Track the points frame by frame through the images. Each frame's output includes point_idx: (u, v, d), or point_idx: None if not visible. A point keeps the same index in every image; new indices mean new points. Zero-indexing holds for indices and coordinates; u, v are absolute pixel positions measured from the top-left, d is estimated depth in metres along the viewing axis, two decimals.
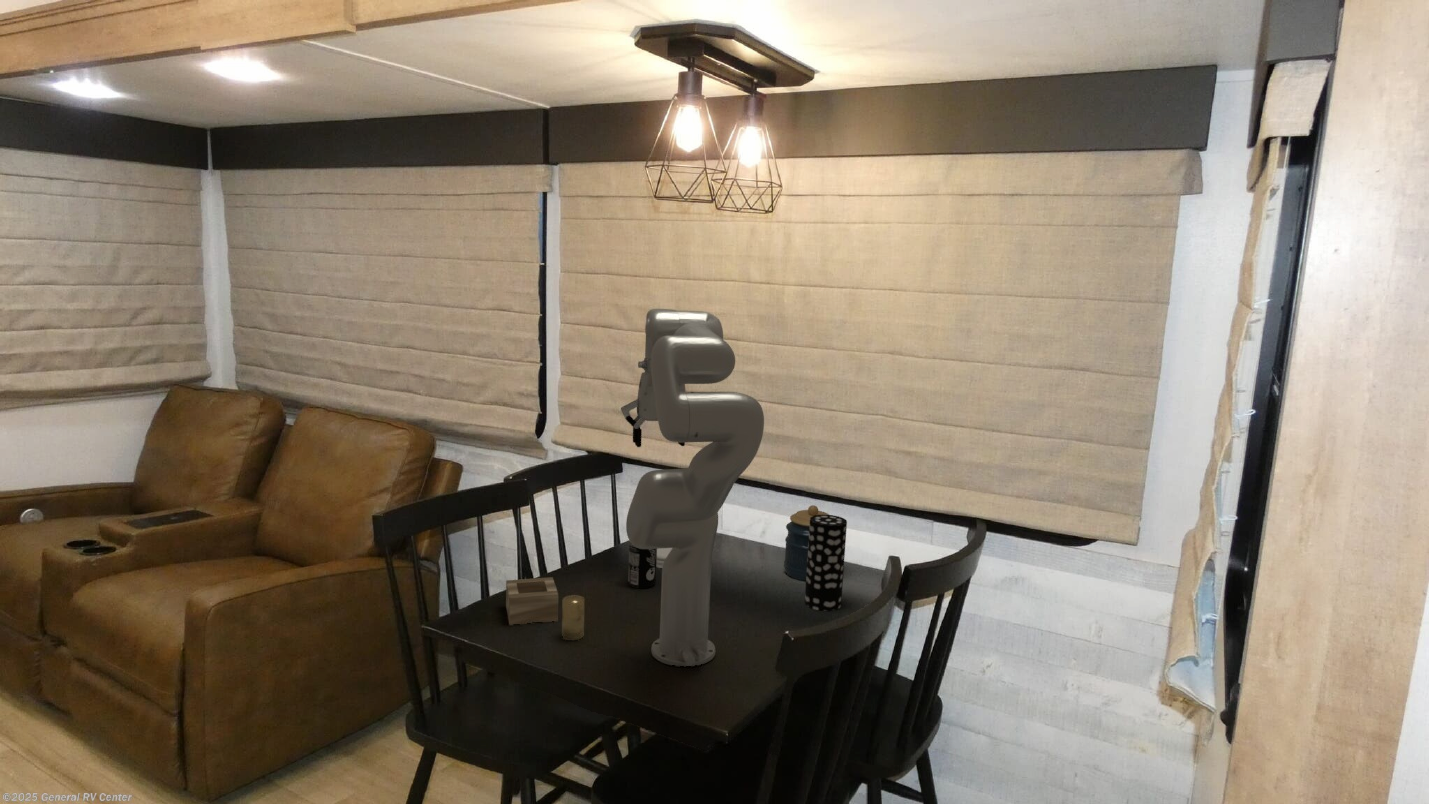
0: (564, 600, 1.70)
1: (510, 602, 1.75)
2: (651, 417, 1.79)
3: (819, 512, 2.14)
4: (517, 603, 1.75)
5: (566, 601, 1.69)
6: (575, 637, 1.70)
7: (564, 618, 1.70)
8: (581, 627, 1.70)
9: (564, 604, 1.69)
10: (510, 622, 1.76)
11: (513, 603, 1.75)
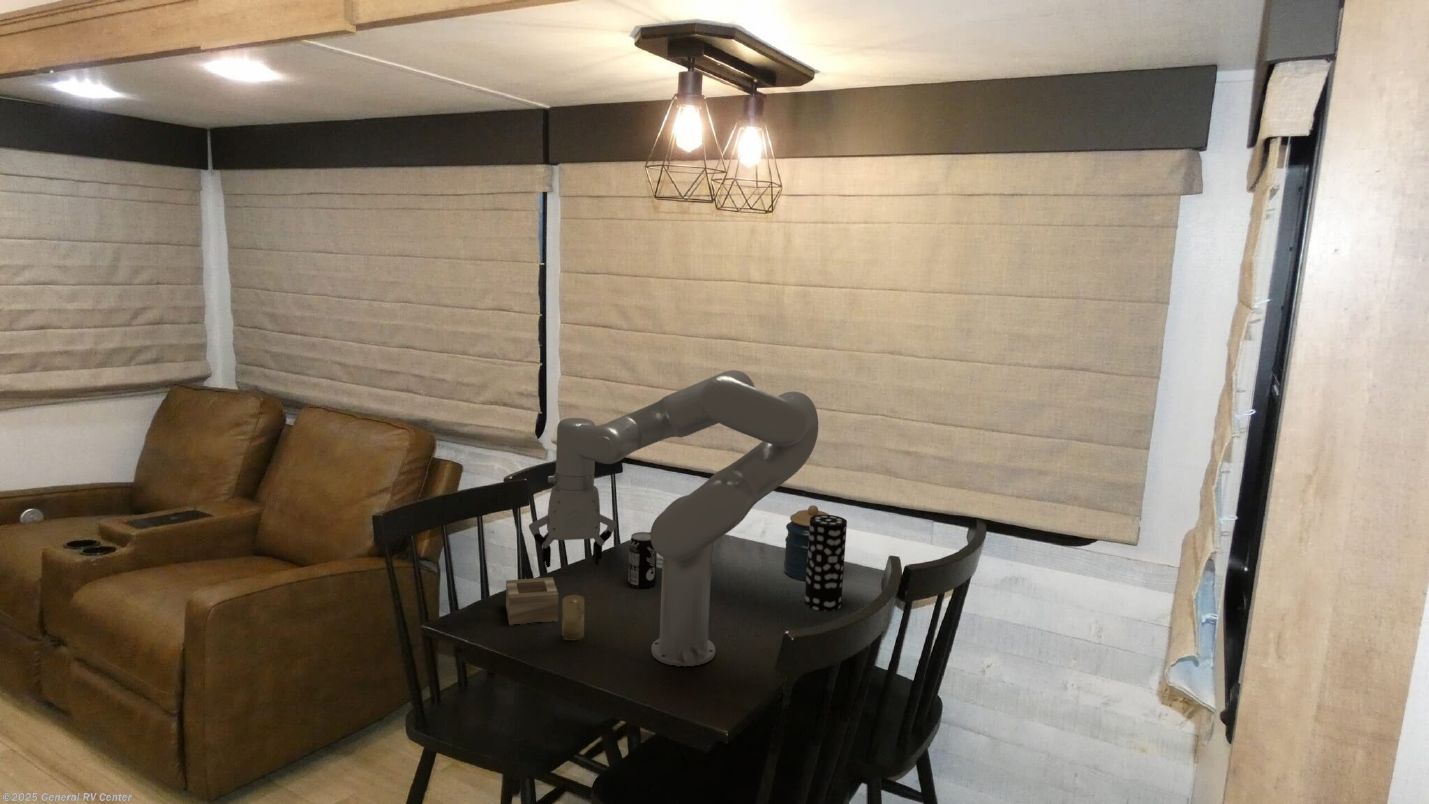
0: (564, 600, 1.70)
1: (510, 602, 1.75)
2: (560, 536, 1.65)
3: (819, 511, 2.14)
4: (517, 603, 1.75)
5: (566, 601, 1.69)
6: (575, 637, 1.70)
7: (564, 618, 1.70)
8: (581, 627, 1.70)
9: (564, 604, 1.69)
10: (510, 622, 1.76)
11: (513, 603, 1.75)
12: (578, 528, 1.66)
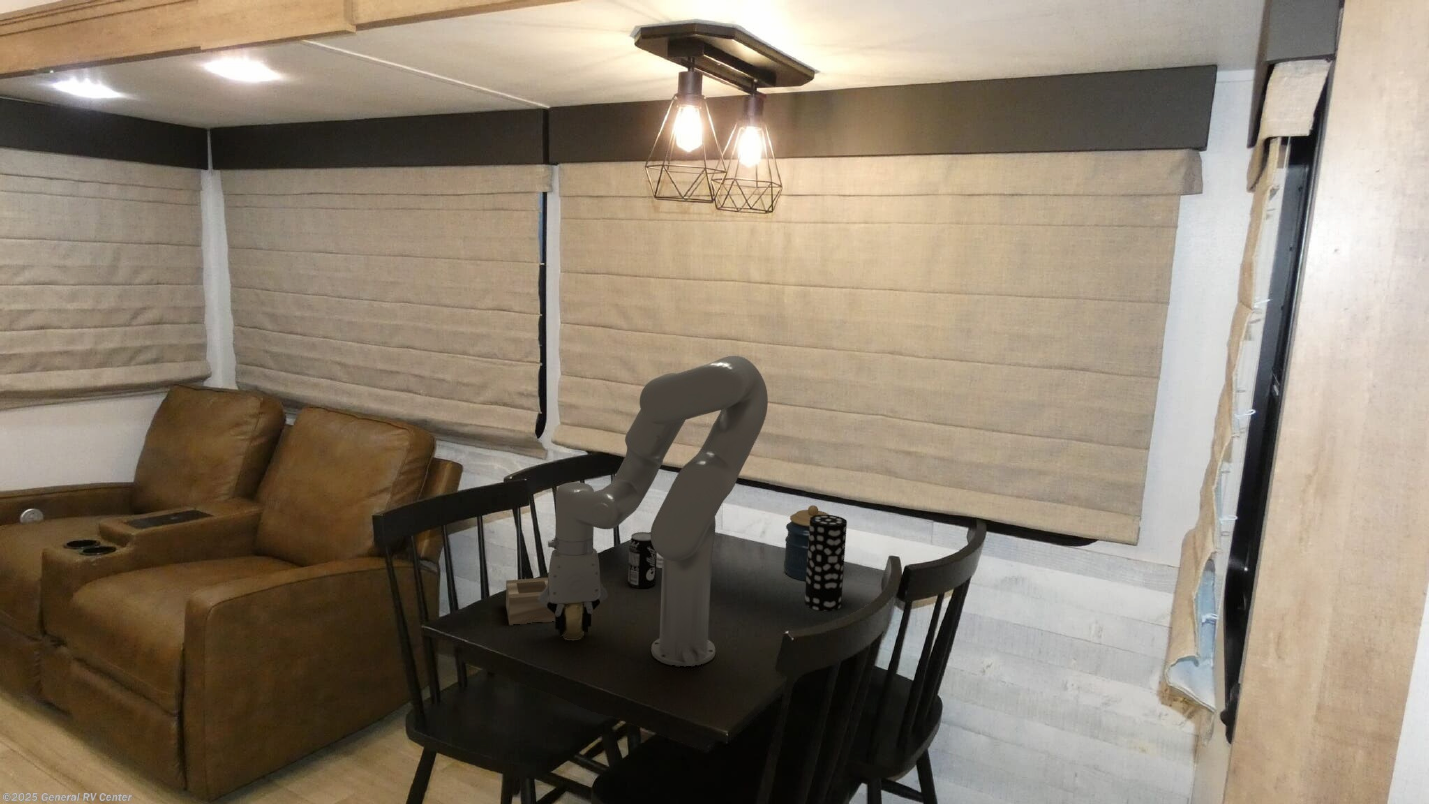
0: None
1: (510, 602, 1.75)
2: (561, 600, 1.67)
3: (819, 511, 2.14)
4: (517, 603, 1.75)
5: None
6: (575, 637, 1.70)
7: (564, 618, 1.70)
8: (581, 627, 1.70)
9: (564, 604, 1.69)
10: (510, 622, 1.76)
11: (513, 603, 1.75)
12: (578, 591, 1.68)
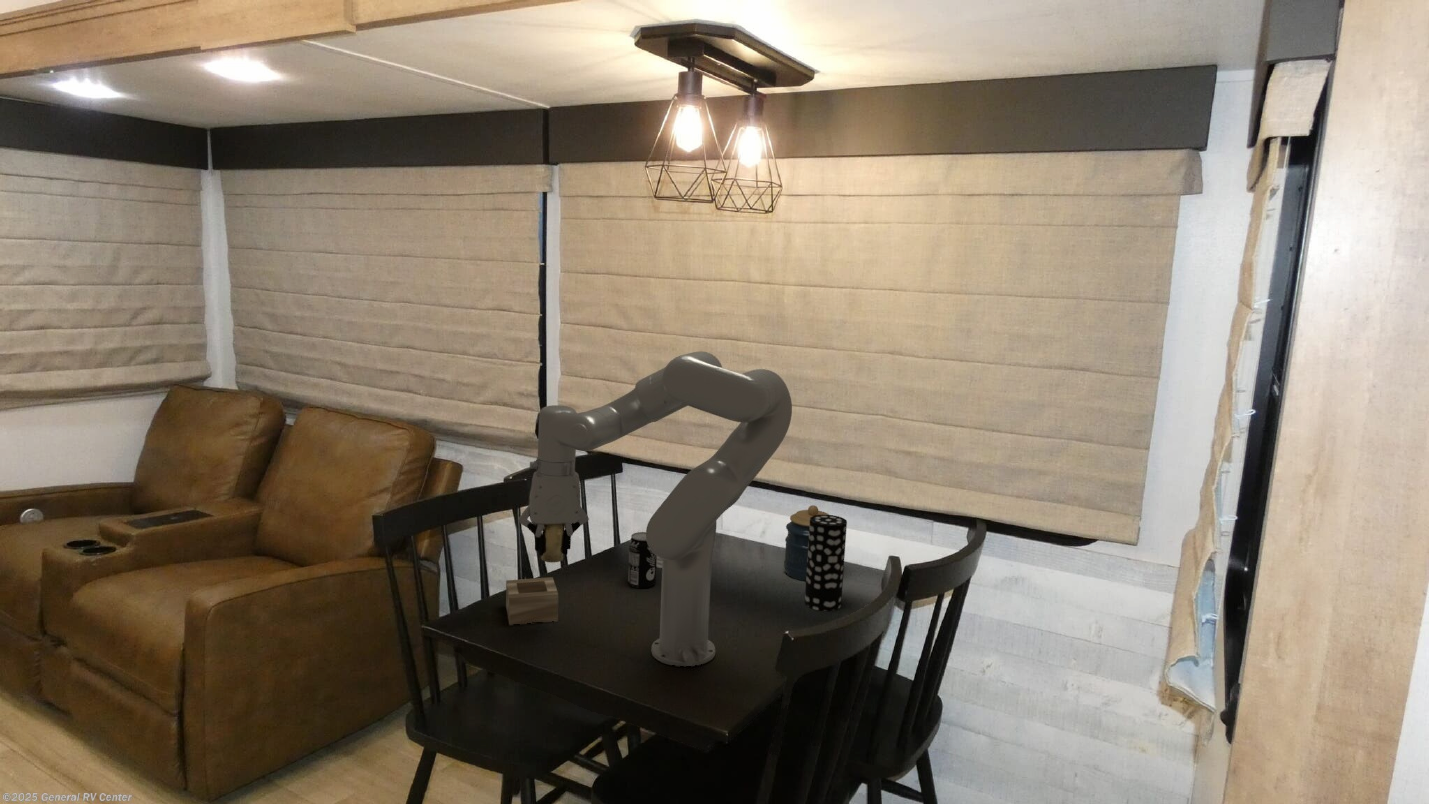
0: None
1: (510, 602, 1.75)
2: (541, 521, 1.69)
3: (819, 512, 2.14)
4: (517, 603, 1.75)
5: None
6: (554, 558, 1.72)
7: (544, 539, 1.72)
8: (561, 549, 1.73)
9: (544, 525, 1.71)
10: (510, 622, 1.76)
11: (513, 603, 1.75)
12: (559, 513, 1.70)
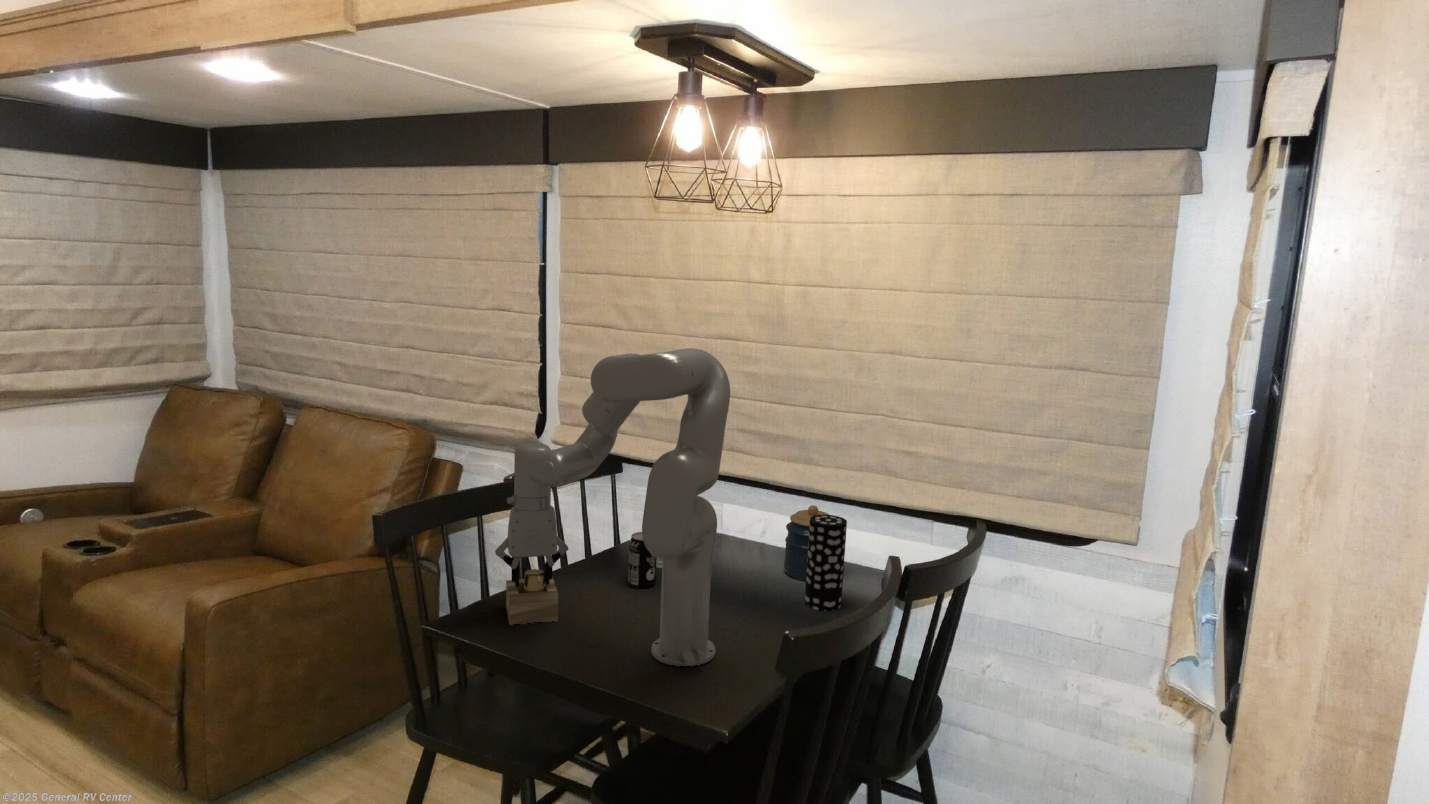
0: (526, 573, 1.80)
1: (510, 602, 1.75)
2: (519, 554, 1.76)
3: (819, 511, 2.14)
4: (517, 603, 1.75)
5: (528, 574, 1.79)
6: None
7: (525, 590, 1.79)
8: None
9: (526, 577, 1.79)
10: (510, 622, 1.76)
11: (513, 603, 1.75)
12: (536, 546, 1.77)
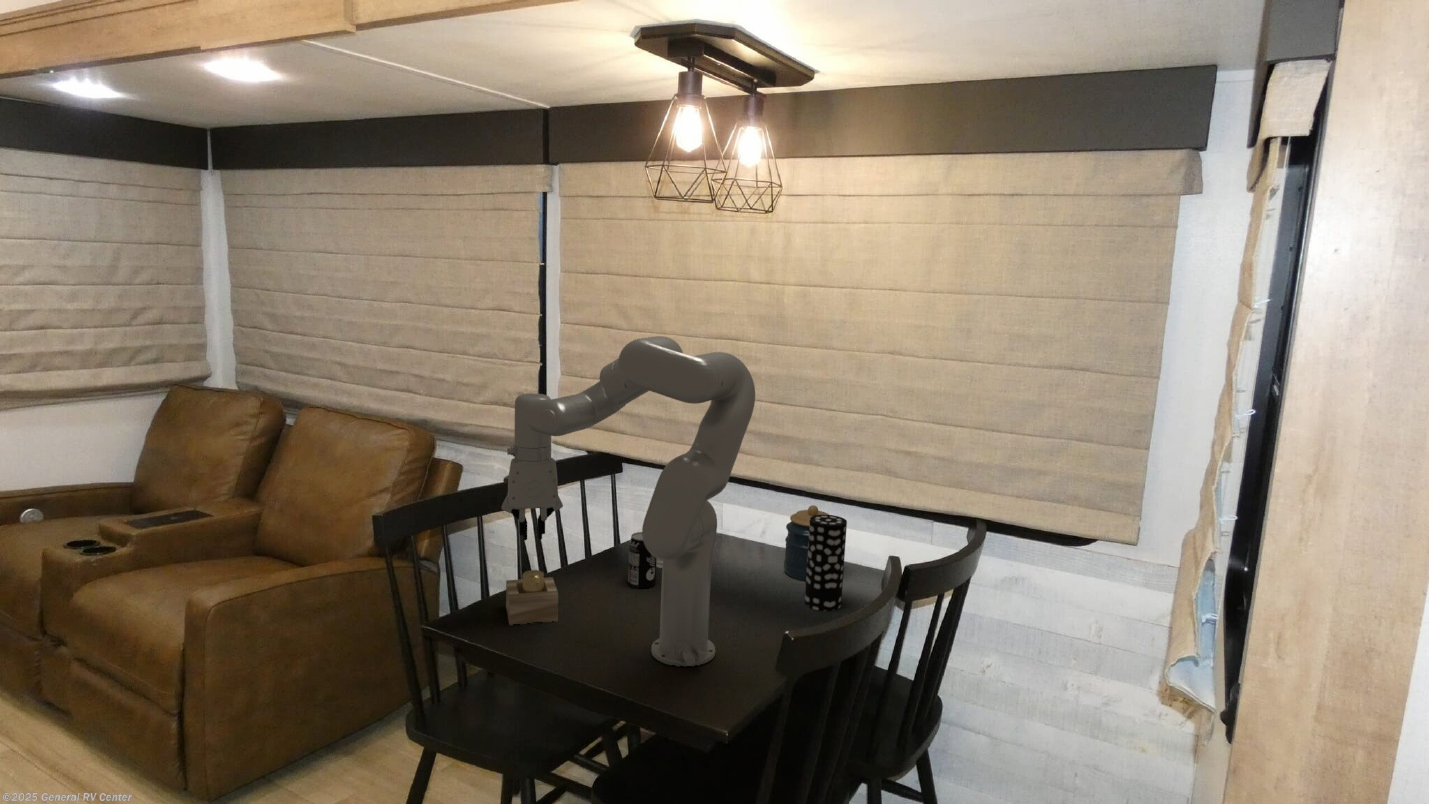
0: (524, 575, 1.80)
1: (510, 602, 1.75)
2: (520, 505, 1.74)
3: (819, 512, 2.14)
4: (517, 603, 1.75)
5: (526, 576, 1.79)
6: None
7: (524, 591, 1.79)
8: None
9: (524, 579, 1.79)
10: (510, 622, 1.76)
11: (513, 603, 1.75)
12: (536, 497, 1.75)
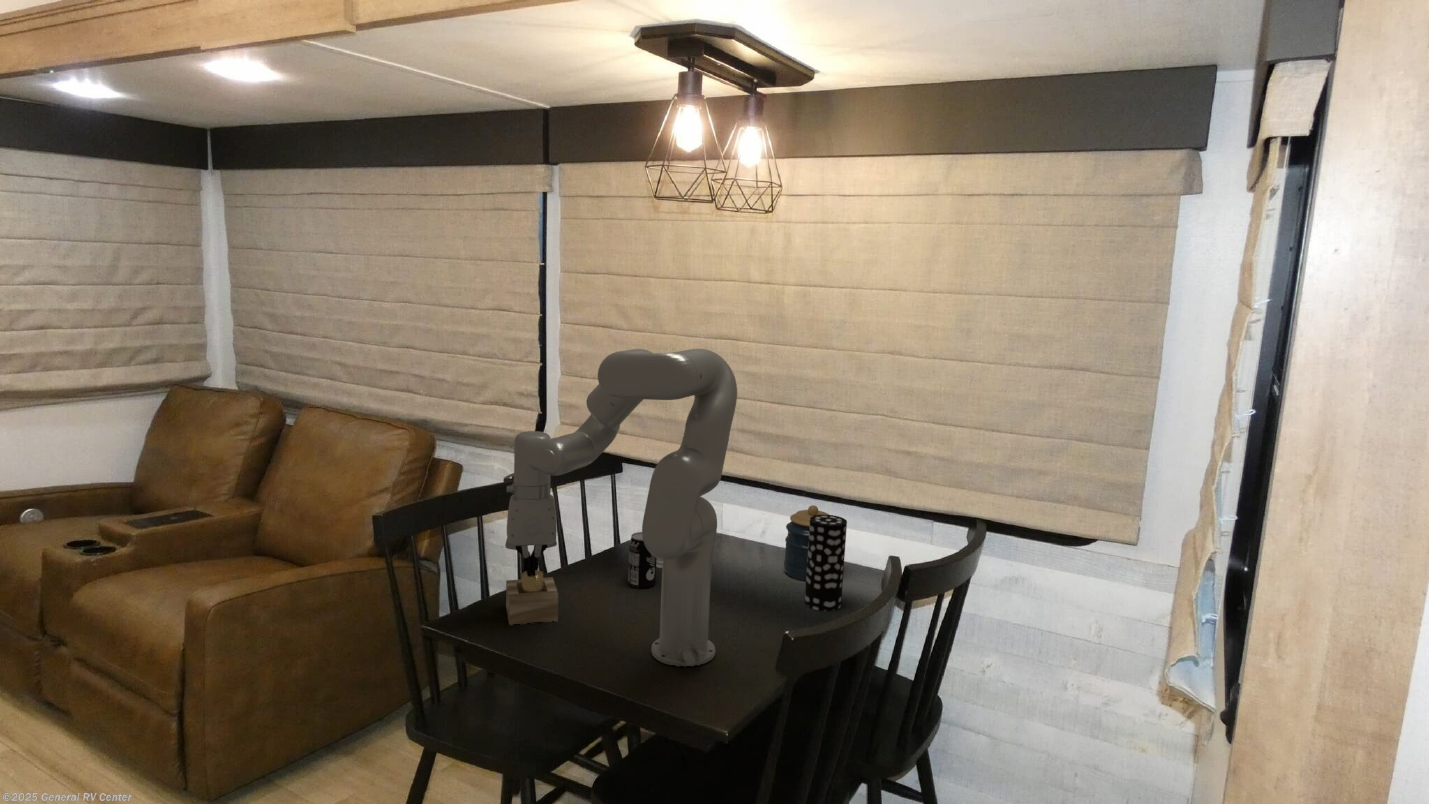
0: (523, 575, 1.80)
1: (510, 602, 1.75)
2: (519, 542, 1.76)
3: (819, 511, 2.14)
4: (517, 603, 1.75)
5: (525, 576, 1.79)
6: None
7: (524, 592, 1.79)
8: None
9: (524, 578, 1.79)
10: (510, 622, 1.76)
11: (513, 603, 1.75)
12: (535, 534, 1.77)
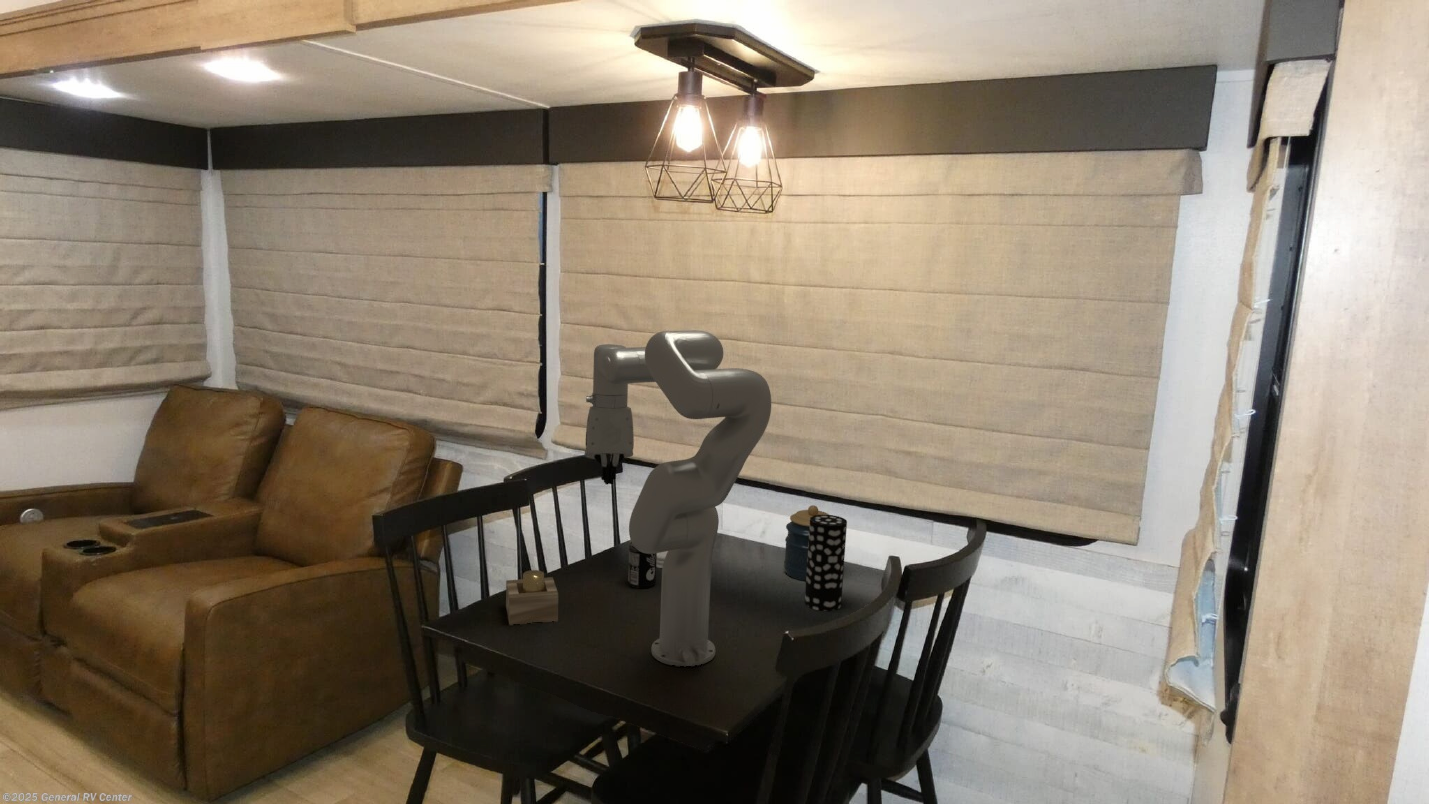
0: (524, 575, 1.80)
1: (510, 602, 1.75)
2: (598, 450, 1.83)
3: (819, 511, 2.14)
4: (517, 603, 1.75)
5: (526, 576, 1.79)
6: None
7: (525, 591, 1.79)
8: None
9: (525, 578, 1.79)
10: (510, 622, 1.76)
11: (513, 603, 1.75)
12: (614, 443, 1.84)
